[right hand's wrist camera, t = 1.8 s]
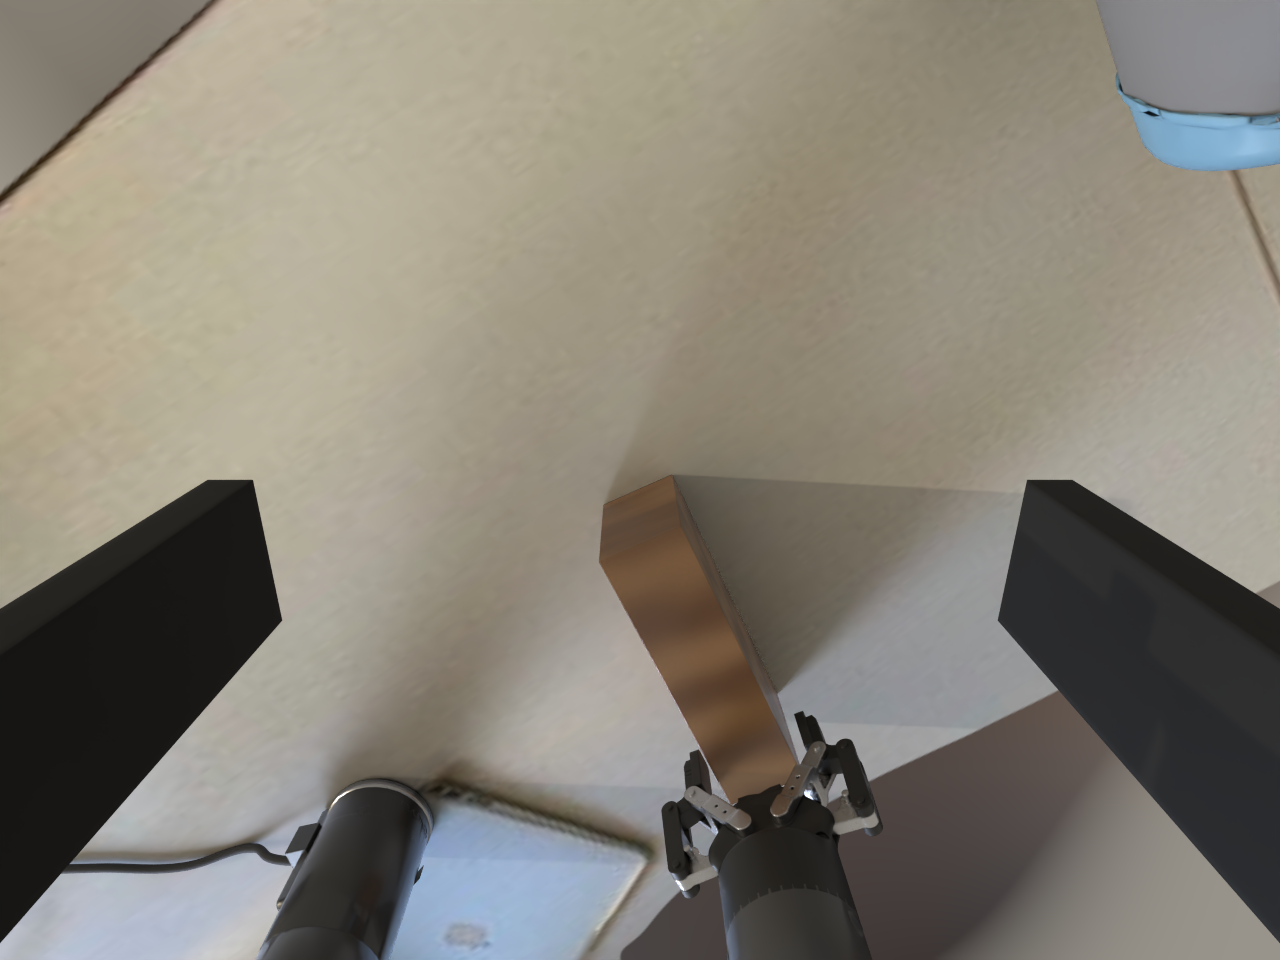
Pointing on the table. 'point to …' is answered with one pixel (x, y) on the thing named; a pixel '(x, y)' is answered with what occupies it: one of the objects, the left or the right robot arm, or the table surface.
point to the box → (696, 637)
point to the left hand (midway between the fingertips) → (750, 739)
